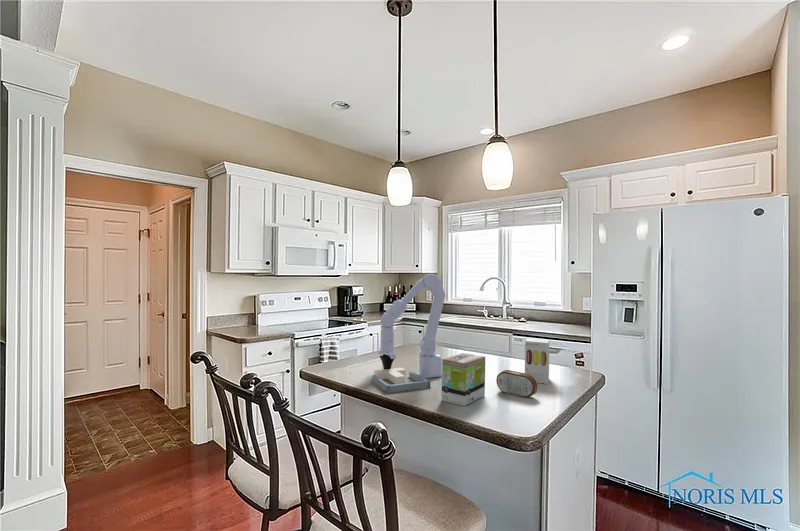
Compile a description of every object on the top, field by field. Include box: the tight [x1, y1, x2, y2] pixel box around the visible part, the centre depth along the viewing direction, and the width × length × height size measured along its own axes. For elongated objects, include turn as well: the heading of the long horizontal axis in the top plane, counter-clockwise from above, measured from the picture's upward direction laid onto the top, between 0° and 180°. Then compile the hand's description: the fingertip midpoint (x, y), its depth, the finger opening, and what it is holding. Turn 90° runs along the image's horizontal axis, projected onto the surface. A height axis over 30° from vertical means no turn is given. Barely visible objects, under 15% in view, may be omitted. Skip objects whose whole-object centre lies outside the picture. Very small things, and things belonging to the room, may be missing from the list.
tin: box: [496, 369, 538, 398], centre depth 147 cm, size 15×3×8 cm, turn 50°
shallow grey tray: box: [371, 370, 431, 394], centre depth 160 cm, size 18×17×2 cm
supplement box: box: [524, 337, 550, 385], centre depth 166 cm, size 10×9×17 cm
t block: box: [373, 367, 407, 384], centre depth 166 cm, size 13×13×3 cm
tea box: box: [441, 352, 486, 407], centre depth 143 cm, size 15×10×15 cm, turn 143°
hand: (387, 372), depth 173 cm, fingers closed
